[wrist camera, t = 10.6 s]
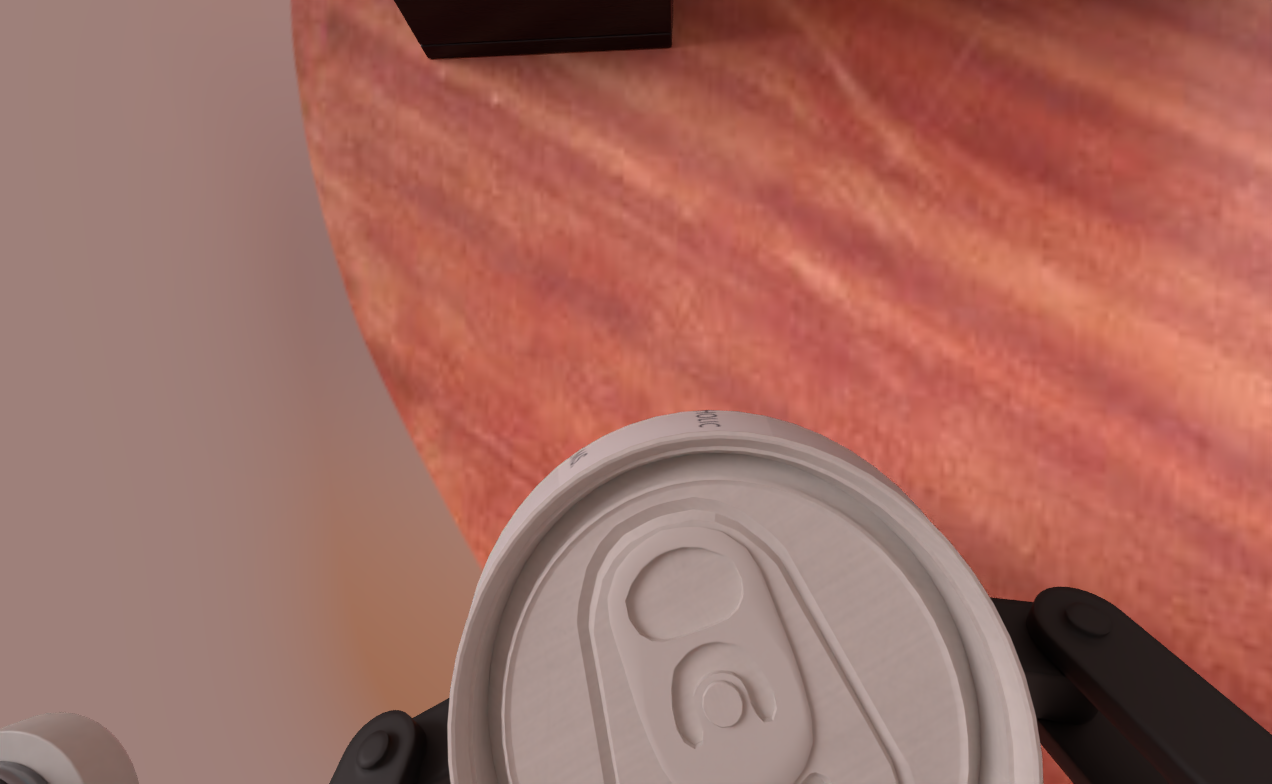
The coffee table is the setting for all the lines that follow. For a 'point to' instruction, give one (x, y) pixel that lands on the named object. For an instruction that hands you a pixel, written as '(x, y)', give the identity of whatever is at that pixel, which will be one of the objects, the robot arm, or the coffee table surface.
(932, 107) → the coffee table surface
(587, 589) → the beer can
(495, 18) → the bin
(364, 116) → the coffee table surface
